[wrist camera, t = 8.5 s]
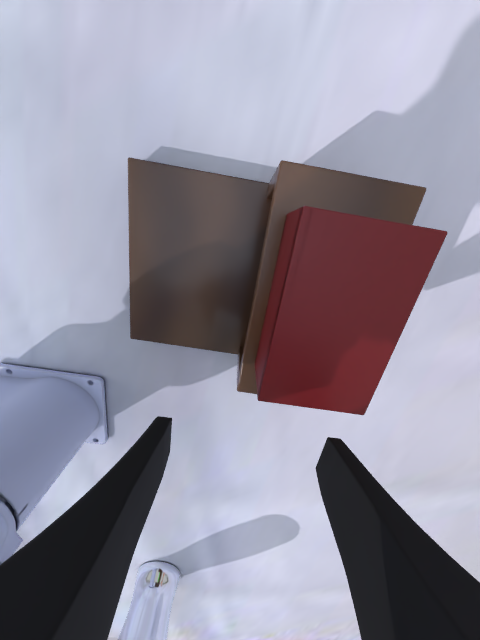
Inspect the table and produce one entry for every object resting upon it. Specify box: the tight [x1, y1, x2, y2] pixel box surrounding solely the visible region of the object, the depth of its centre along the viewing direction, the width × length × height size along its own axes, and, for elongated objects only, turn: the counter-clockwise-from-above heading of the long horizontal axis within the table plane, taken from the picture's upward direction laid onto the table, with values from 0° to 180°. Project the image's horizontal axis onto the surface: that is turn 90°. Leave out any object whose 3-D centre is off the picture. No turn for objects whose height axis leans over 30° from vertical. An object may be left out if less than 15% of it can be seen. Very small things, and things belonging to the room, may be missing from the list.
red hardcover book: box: [255, 206, 447, 415], centre depth 10 cm, size 5×8×3 cm, turn 171°
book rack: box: [128, 158, 426, 394], centre depth 14 cm, size 15×12×6 cm
